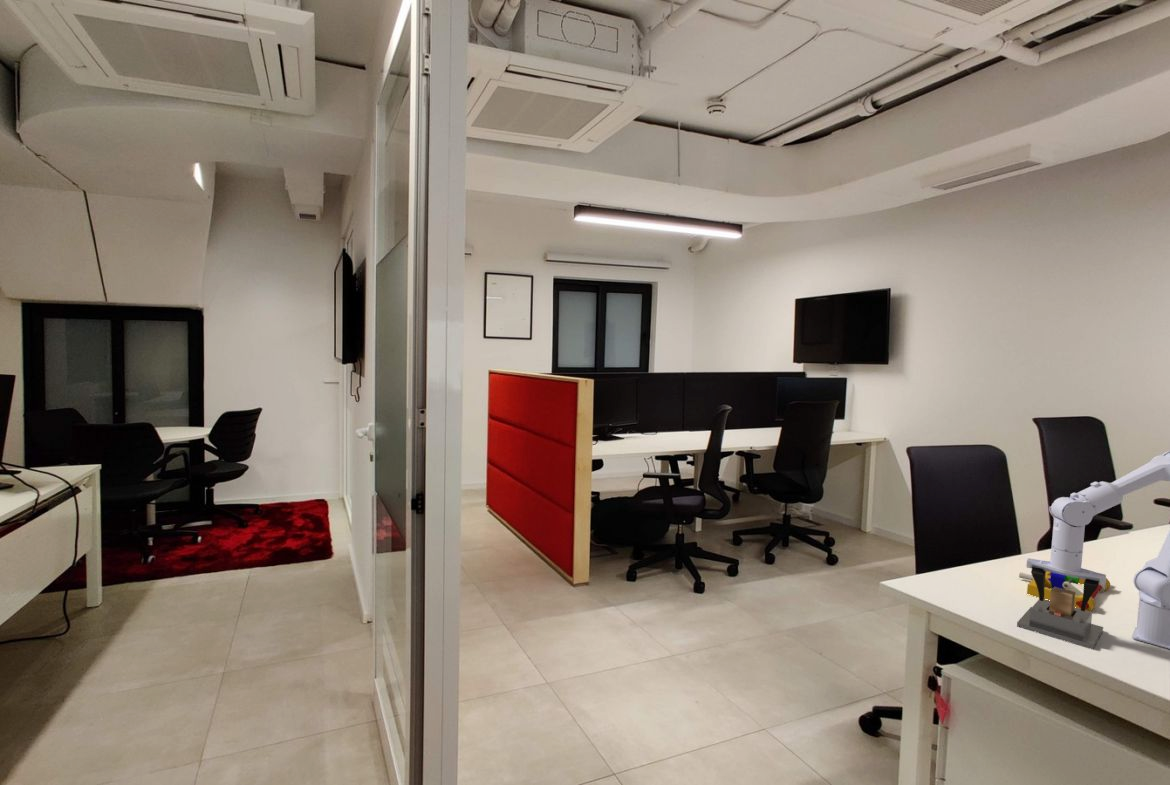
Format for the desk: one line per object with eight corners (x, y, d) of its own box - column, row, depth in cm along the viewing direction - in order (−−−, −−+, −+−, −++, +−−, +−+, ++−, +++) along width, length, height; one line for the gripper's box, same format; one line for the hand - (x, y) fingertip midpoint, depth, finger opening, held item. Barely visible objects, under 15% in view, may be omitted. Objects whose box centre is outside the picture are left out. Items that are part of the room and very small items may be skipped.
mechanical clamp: (1114, 566, 168) (1093, 591, 149) (1112, 588, 169) (1091, 615, 149) (1035, 549, 182) (1007, 570, 163) (1034, 569, 183) (1005, 592, 163)
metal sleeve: (1102, 631, 139) (1104, 610, 139) (1093, 649, 130) (1095, 627, 130) (1030, 610, 150) (1032, 591, 150) (1016, 626, 141) (1018, 605, 140)
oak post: (1073, 624, 140) (1076, 591, 139) (1069, 629, 137) (1072, 596, 136) (1051, 618, 143) (1053, 586, 142) (1047, 623, 140) (1050, 590, 140)
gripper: (1108, 553, 137) (1103, 609, 138) (1031, 538, 147) (1026, 590, 147) (1107, 560, 132) (1101, 618, 132) (1027, 544, 141) (1022, 598, 142)
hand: (1061, 604), depth 140 cm, fingers open, 7 cm apart
